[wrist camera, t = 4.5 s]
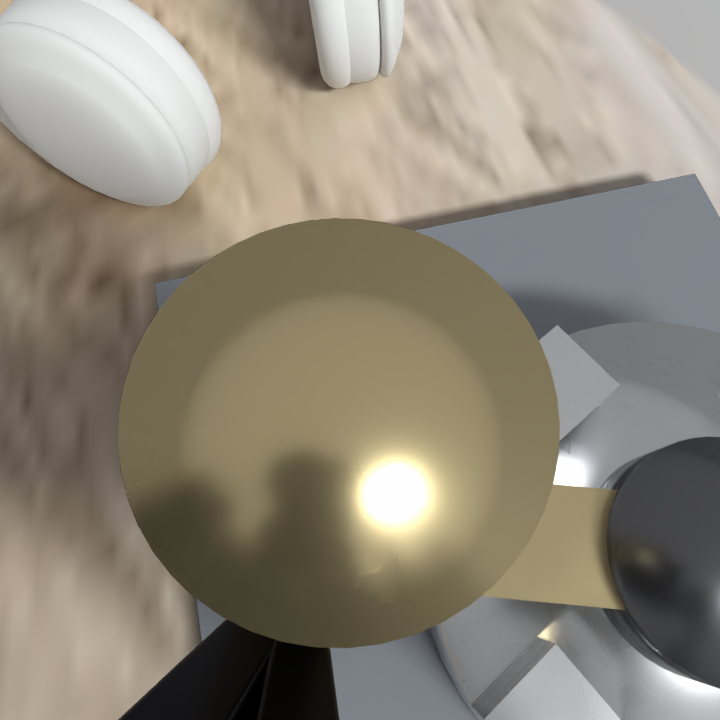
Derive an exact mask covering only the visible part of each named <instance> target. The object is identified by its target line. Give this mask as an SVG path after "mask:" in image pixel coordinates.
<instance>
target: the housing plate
mask: <svg viewBox="0 0 720 720" xmlns="http://www.w3.org/2000/svg"><path fill="white" fill-rule="evenodd" d="M414 231H416V232H419V233H421V234H424V235H427V236H429V237H432V238H434V239H436V240H438V241H440V242H442V243H444V244H446V245H447V246H449V247H451V248H453V249H455V250H457V251H458V252H460V253H461V254H463V255H464V256H466V257H467V258H469V259H470V260H471V261H473V262H474V263H476V264H477V265H478V266H480V267H481V268H482V269H483V270H484V271H485V272H486V273H488V274H489V275H490V276H491V277H492V278H493V279H495V280H496V281H497V282H498V283H499V285H500V286H501V287H502V288H503V289H504V290H505V291H506V292H507V293H508V294H509V296H510V297H511V298H512V299H513V300H514V301H515V303H516V304H517V306H518V307H519V308H520V310H521V311H522V313H523V314H524V315H525V317H526V318H527V320H528V321H529V323H530V325H531V327H532V329H533V330H534V332H535V334H536V336H537V338H538V340H540V339H541V338H542V337H544V336H545V335H546V334H547V333H548V332H550V331H551V330H552V329H553V328H554V327H555V326H557V325H558V326H559V327H560V328H561V329H562V330H563V331H564V332H565V333H566V334H567V335H570V334H572V333H575V332H578V331H580V330H585V329H589V328H594V327H598V326H603V325H607V324H617V323H627V322H664V323H672V324H679V325H685V326H692V327H697V328H701V329H705V330H709V331H712V332H716V333H720V217H719V216H718V214H717V212H716V210H715V208H714V207H713V205H712V203H711V201H710V200H709V198H708V196H707V194H706V192H705V191H704V189H703V187H702V185H701V183H700V182H699V180H698V178H697V176H696V175H695V174H691V175H686V176H681V177H676V178H671V179H666V180H661V181H656V182H651V183H646V184H641V185H636V186H632V187H627V188H622V189H617V190H612V191H607V192H602V193H597V194H592V195H587V196H582V197H577V198H572V199H567V200H562V201H557V202H553V203H548V204H543V205H538V206H533V207H528V208H523V209H518V210H513V211H508V212H503V213H498V214H493V215H488V216H483V217H479V218H474V219H469V220H464V221H459V222H454V223H449V224H444V225H439V226H434V227H429V228H424V229H419V230H414ZM188 277H189V276H187V277H182V278H177V279H172V280H168V281H163V282H158V283H155V289H156V297H157V305H158V310H159V309H160V308H161V307H162V305H163V304H164V303H165V302H166V301H167V299H168V298H169V297H170V296H171V295H172V293H173V292H174V291H175V290H176V289H177V288H178V287H179V286H180V285H181V284H182V283H183V282H184V281H185V280H186V279H187V278H188ZM196 601H197V608H198V616H199V624H200V631H201V639H202V641H203V640H204V639H205V638H206V637H207V636H208V635H210V634H211V633H212V632H213V631H214V630H215V629H216V628H217V627H218V626H219V625H220V624H221V623H222V622H223V621H225V620H226V619H225V618H223V617H221V616H220V615H219V614H217V613H216V612H214V611H213V610H211V609H210V608H209V607H207V606H206V605H204V604H203V603H202V602H200V601H199V600H197V599H196ZM330 650H331V658H332V666H333V674H334V681H335V689H336V697H337V705H338V712H339V720H477V718H476V717H475V716H474V714H473V713H472V711H471V710H470V708H469V707H468V705H467V704H466V703H465V701H464V700H463V698H462V697H461V695H460V694H459V692H458V691H457V689H456V687H455V685H454V683H453V681H452V679H451V677H450V675H449V674H448V672H447V670H446V668H445V666H444V664H443V662H442V660H441V657H440V655H439V652H438V649H437V647H436V644H435V642H434V639H433V636H432V634H431V631H430V628H429V629H426V630H424V631H422V632H420V633H417V634H415V635H413V636H409V637H405V638H402V639H398V640H394V641H391V642H387V643H383V644H378V645H370V646H362V647H353V648H330Z"/></svg>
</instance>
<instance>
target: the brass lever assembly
mask: <svg viewBox="0 0 720 720" xmlns="http://www.w3.org/2000/svg"><path fill="white" fill-rule="evenodd" d="M118 448H119V459H120V469H121V473H122V478H123V482H124V486H125V490H126V495H127V498H128V501H129V503H130V506H131V508H132V511H133V514H134V516H135V519H136V521H137V524H138V526H139V528H140V529H141V531H142V533H143V535H144V536H145V538H146V540H147V542H148V543H149V545H150V547H151V549H152V551H153V552H154V553H155V555H156V556H157V557H158V559H159V560H160V561H161V562H162V564H163V565H164V566H165V567H166V569H167V570H168V571H169V573H170V574H171V575H172V576H173V577H174V578H175V579H176V580H177V581H178V582H179V583H180V584H181V585H182V586H183V587H184V588H185V589H186V590H187V591H188V592H189V593H190V594H191V595H193V596H194V597H195V598H196V599H197V600H199V601H200V602H202V603H203V604H204V605H206V606H207V607H209V608H210V609H211V610H213V611H214V612H216V613H217V614H219V615H220V616H221V617H223V618H225V619H227V620H229V621H231V622H233V623H235V624H237V625H239V626H241V627H243V628H245V629H247V630H249V631H251V632H254V633H257V634H260V635H263V636H266V637H269V638H272V639H275V640H278V641H281V642H287V643H293V644H298V645H304V646H310V647H321V648H353V647H362V646H370V645H378V644H383V643H387V642H391V641H394V640H398V639H402V638H405V637H409V636H413V635H415V634H417V633H420V632H422V631H424V630H426V629H429V628H430V631H431V634H432V636H433V639H434V642H435V644H436V647H437V649H438V652H439V655H440V657H441V660H442V662H443V664H444V666H445V668H446V670H447V672H448V674H449V675H450V677H451V679H452V681H453V683H454V685H455V687H456V689H457V691H458V692H459V694H460V695H461V697H462V698H463V700H464V701H465V703H466V704H467V705H468V707H469V708H470V710H471V711H472V713H473V714H474V716H475V717H476V718H477V720H720V333H716V332H712V331H709V330H705V329H701V328H697V327H692V326H685V325H679V324H672V323H664V322H627V323H617V324H607V325H603V326H598V327H594V328H589V329H585V330H580V331H578V332H575V333H572V334H570V335H567V334H566V333H565V332H564V331H563V330H562V329H561V328H560V327H559V326H558V325H557V326H555V327H554V328H553V329H552V330H551V331H550V332H548V333H547V334H546V335H545V336H544V337H542V338H541V339H540V340H538V338H537V336H536V334H535V332H534V330H533V329H532V327H531V325H530V323H529V321H528V320H527V318H526V317H525V315H524V314H523V313H522V311H521V310H520V308H519V307H518V306H517V304H516V303H515V301H514V300H513V299H512V298H511V297H510V296H509V294H508V293H507V292H506V291H505V290H504V289H503V288H502V287H501V286H500V285H499V283H498V282H497V281H496V280H495V279H493V278H492V277H491V276H490V275H489V274H488V273H486V272H485V271H484V270H483V269H482V268H481V267H480V266H478V265H477V264H476V263H474V262H473V261H471V260H470V259H469V258H467V257H466V256H464V255H463V254H461V253H460V252H458V251H457V250H455V249H453V248H451V247H449V246H447V245H446V244H444V243H442V242H440V241H438V240H436V239H434V238H432V237H429V236H427V235H424V234H421V233H419V232H416V231H413V230H411V229H408V228H404V227H400V226H396V225H392V224H388V223H384V222H377V221H370V220H363V219H340V218H333V219H321V220H309V221H304V222H299V223H294V224H289V225H284V226H281V227H278V228H274V229H271V230H268V231H265V232H262V233H259V234H257V235H255V236H252V237H250V238H248V239H245V240H243V241H241V242H239V243H237V244H235V245H233V246H232V247H230V248H228V249H226V250H225V251H223V252H221V253H220V254H218V255H216V256H215V257H213V258H212V259H211V260H209V261H208V262H207V263H205V264H204V265H203V266H201V267H200V268H199V269H197V270H196V271H195V272H194V273H193V274H191V275H190V276H189V277H188V278H187V279H186V280H185V281H184V282H183V283H182V284H181V285H180V286H179V287H178V288H177V289H176V290H175V291H174V292H173V293H172V295H171V296H170V297H169V298H168V299H167V301H166V302H165V303H164V304H163V305H162V307H161V308H160V309H159V310H158V312H157V314H156V315H155V317H154V318H153V320H152V321H151V323H150V324H149V326H148V328H147V329H146V331H145V332H144V334H143V336H142V339H141V341H140V343H139V345H138V347H137V349H136V351H135V353H134V355H133V358H132V361H131V364H130V367H129V370H128V373H127V376H126V379H125V382H124V387H123V392H122V398H121V403H120V409H119V423H118Z"/></svg>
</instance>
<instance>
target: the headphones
mask: <svg viewBox="0 0 720 720" xmlns="http://www.w3.org/2000/svg"><path fill="white" fill-rule="evenodd" d="M309 5H310V11H311V18H312V24H313V30H314V36H315V42H316V48H317V54H318V61H319V66H320V71H321V75H322V77H323V79H324V81H325V82H326V83H327V84H328V85H329V86H330V87H332V88H336V89H341V88H344V87H346V86H348V85H349V84H350V83H363V82H368V81H371V80H372V79H374V78H376V76H377V74H378V72H379V73H380V75H381V76H383V77H387V76H389V75H390V74H391V73H392V71H393V68H394V66H395V63H396V59H397V55H398V53H399V51H400V48H401V43H402V37H403V26H404V0H309ZM0 122H1V123H2V124H3V125H4V126H5V127H6V128H8V129H9V130H10V131H11V132H12V133H13V134H14V135H15V136H16V137H17V138H18V139H19V140H21V141H22V142H23V143H24V144H26V145H27V146H28V147H29V148H31V149H32V150H33V151H34V152H36V153H37V154H38V155H39V156H41V157H42V158H43V159H45V160H46V161H47V162H48V163H50V164H51V165H52V166H54V167H55V168H57V169H58V170H60V171H61V172H63V173H64V174H66V175H67V176H69V177H71V178H72V179H74V180H76V181H78V182H79V183H81V184H83V185H85V186H87V187H89V188H91V189H93V190H95V191H97V192H100V193H102V194H105V195H107V196H109V197H112V198H114V199H117V200H120V201H124V202H127V203H131V204H135V205H141V206H150V207H155V206H163V205H168V204H171V203H173V202H175V201H177V200H178V199H179V198H180V197H181V196H182V195H183V194H184V192H185V191H186V188H188V187H189V186H190V185H191V184H192V183H193V182H194V181H195V180H196V178H197V177H198V176H199V174H200V173H201V171H202V170H203V169H204V168H206V167H207V166H208V165H209V164H210V163H211V162H212V160H213V159H214V158H215V156H216V154H217V152H218V149H219V146H220V143H221V133H222V128H221V118H220V114H219V110H218V106H217V103H216V100H215V98H214V95H213V93H212V91H211V89H210V86H209V84H208V82H207V81H206V79H205V77H204V76H203V74H202V72H201V70H200V69H199V68H198V66H197V65H196V63H195V62H194V60H193V59H192V58H191V56H190V55H189V54H188V53H187V51H186V50H185V49H184V48H183V46H182V45H181V44H180V43H179V42H178V41H177V40H176V39H175V38H174V37H173V36H172V35H171V34H170V33H169V32H168V31H167V30H166V29H165V28H164V27H163V26H162V25H161V24H160V23H159V22H158V21H156V20H155V19H154V18H153V17H152V16H150V15H149V14H148V13H146V12H145V11H144V10H143V9H141V8H140V7H138V6H137V5H135V4H134V3H132V2H131V1H129V0H13V2H12V3H11V4H10V6H9V8H8V9H7V10H5V11H4V12H3V13H2V14H1V15H0Z"/></svg>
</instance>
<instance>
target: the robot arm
mask: <svg viewBox="0 0 720 720" xmlns="http://www.w3.org/2000/svg"><path fill="white" fill-rule="evenodd" d="M118 720H339V712H338V705H337V697H336V689H335V681H334V674H333V666H332V658H331V650H330V648H321V647H310V646H304V645H298V644H293V643H287V642H281V641H278V640H275V639H272V638H269V637H266V636H263V635H260V634H257V633H254V632H251V631H249V630H247V629H245V628H243V627H241V626H239V625H237V624H235V623H233V622H231V621H229V620H227V619H226V620H225V621H223V622H222V623H221V624H220V625H219V626H218V627H217V628H216V629H215V630H214V631H213V632H212V633H211V634H210V635H208V636H207V637H206V638H205V639H204V640H203V641H202V642H201V643H200V644H199V645H198V646H197V647H196V648H195V649H193V650H192V651H191V652H190V653H189V654H188V655H187V656H186V657H185V658H184V659H183V660H182V661H181V662H179V663H178V664H177V665H176V666H175V667H174V668H173V669H172V670H171V671H170V672H169V673H168V674H167V675H166V676H164V677H163V678H162V679H161V680H160V681H159V682H158V683H157V684H156V685H155V686H154V687H153V688H152V689H151V690H149V691H148V692H147V693H146V694H145V695H144V696H143V697H142V698H141V699H140V700H139V701H138V702H137V703H136V704H134V705H133V706H132V707H131V708H130V709H129V710H128V711H127V712H126V713H125V714H124V715H123V716H122V717H121V718H119V719H118Z"/></svg>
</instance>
